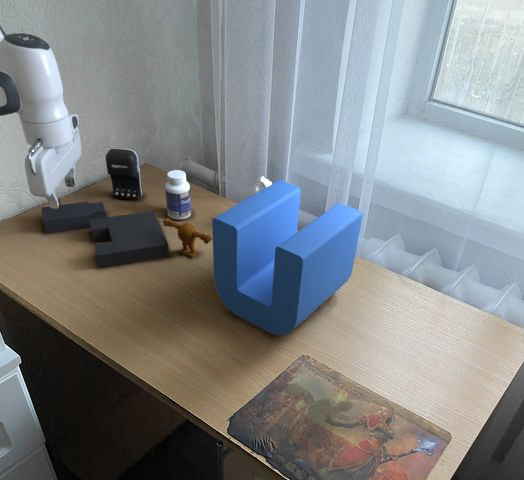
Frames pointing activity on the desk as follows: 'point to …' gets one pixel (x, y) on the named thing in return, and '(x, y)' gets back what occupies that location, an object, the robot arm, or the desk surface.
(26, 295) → the desk surface
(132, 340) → the desk surface
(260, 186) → the white creature statuette
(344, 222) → the block
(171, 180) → the pill bottle
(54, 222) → the charcoal pad
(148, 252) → the black pad
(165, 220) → the toy figurine
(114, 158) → the battery charger
